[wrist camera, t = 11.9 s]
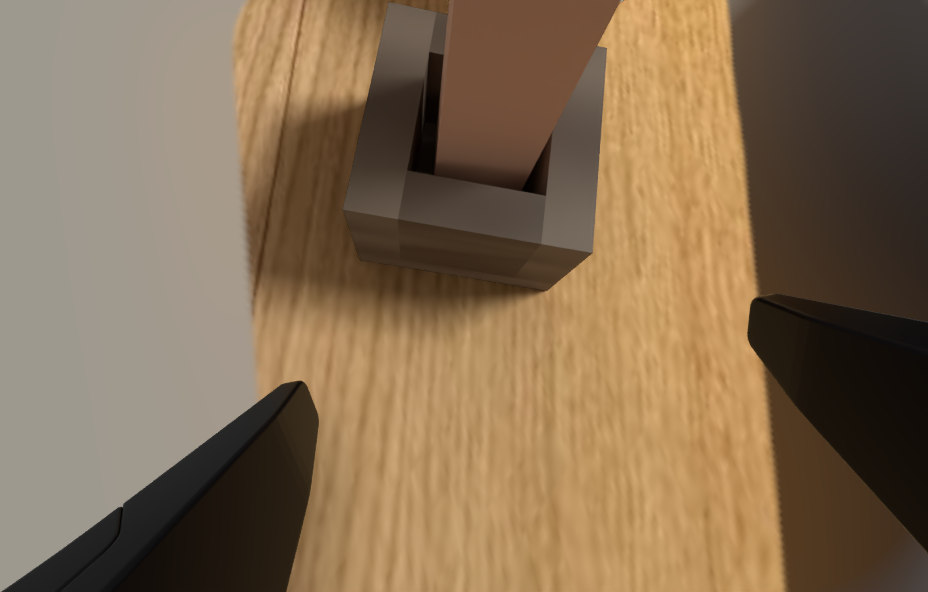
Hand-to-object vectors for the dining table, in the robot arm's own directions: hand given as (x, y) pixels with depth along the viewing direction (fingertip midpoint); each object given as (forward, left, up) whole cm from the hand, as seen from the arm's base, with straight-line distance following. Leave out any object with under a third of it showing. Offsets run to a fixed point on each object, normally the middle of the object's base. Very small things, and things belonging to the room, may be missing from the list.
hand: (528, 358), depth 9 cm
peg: (+8, +1, -8) cm, 12 cm away
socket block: (+8, +1, -9) cm, 13 cm away
